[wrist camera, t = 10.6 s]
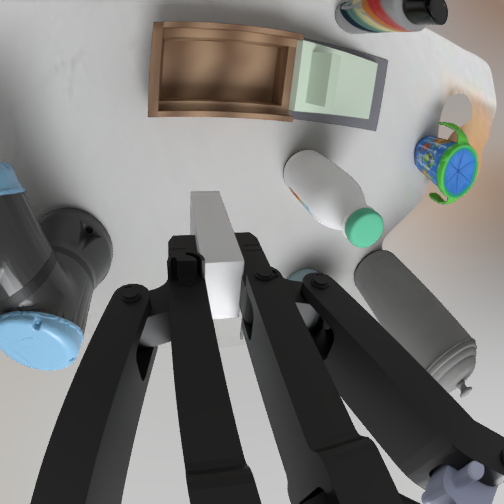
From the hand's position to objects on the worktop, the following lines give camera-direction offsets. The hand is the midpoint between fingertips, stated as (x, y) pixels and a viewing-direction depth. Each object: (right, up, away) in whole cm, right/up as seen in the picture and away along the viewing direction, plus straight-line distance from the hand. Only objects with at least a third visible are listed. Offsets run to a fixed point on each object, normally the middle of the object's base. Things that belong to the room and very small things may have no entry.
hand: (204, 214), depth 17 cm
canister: (+29, -6, +49) cm, 58 cm away
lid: (+15, +22, +23) cm, 35 cm away
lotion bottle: (+18, +34, +20) cm, 43 cm away
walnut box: (-2, +23, +21) cm, 32 cm away
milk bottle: (+11, +11, +33) cm, 37 cm away
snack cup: (+37, +17, +36) cm, 54 cm away
